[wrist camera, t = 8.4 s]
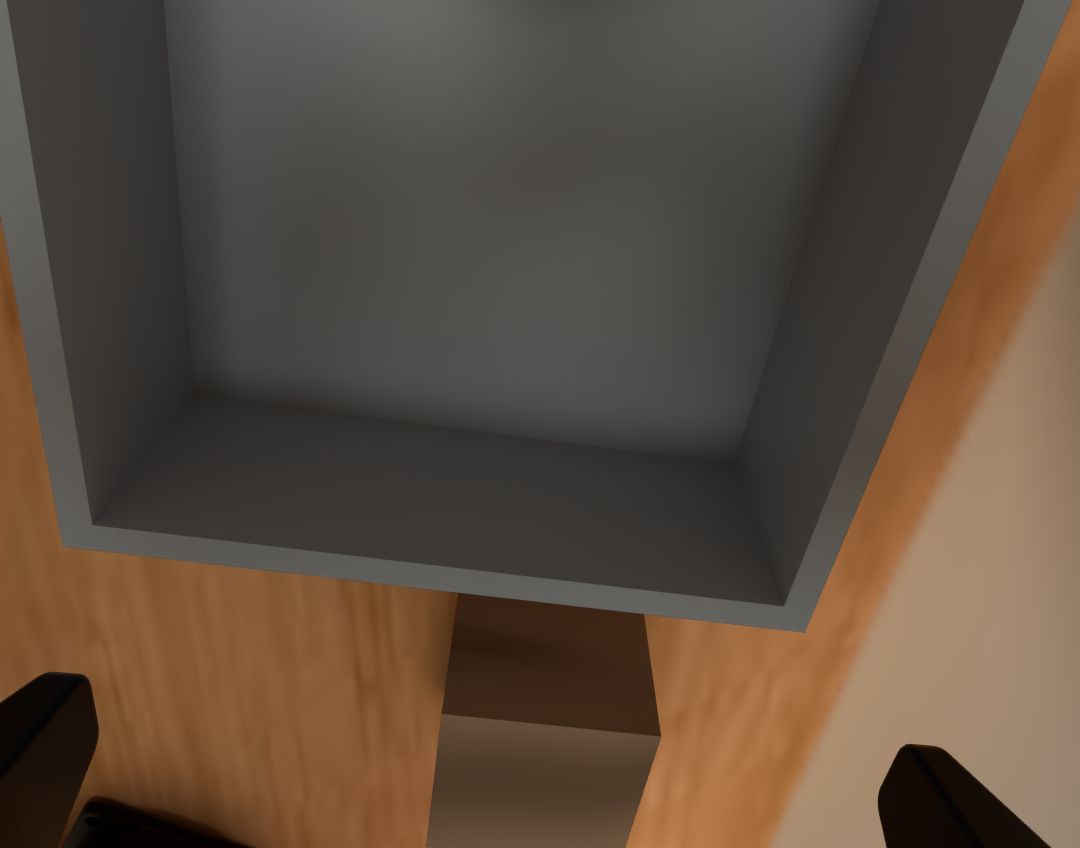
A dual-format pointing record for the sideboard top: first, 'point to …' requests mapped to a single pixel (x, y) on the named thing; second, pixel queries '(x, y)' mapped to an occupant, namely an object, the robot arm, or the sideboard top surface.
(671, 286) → the tote
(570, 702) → the walnut cube
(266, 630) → the sideboard top surface
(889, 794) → the robot arm
